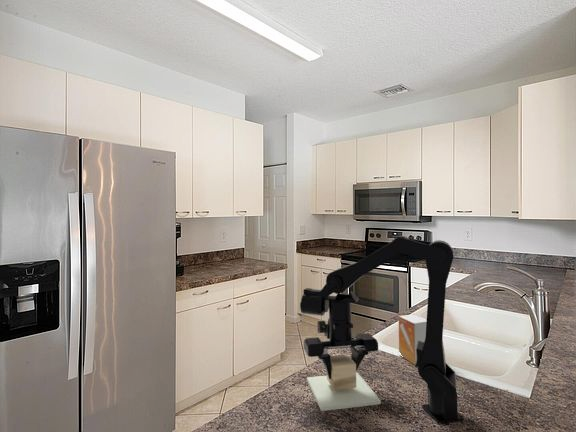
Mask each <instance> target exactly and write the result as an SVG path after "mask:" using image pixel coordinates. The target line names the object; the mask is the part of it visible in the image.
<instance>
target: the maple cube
mask: <svg viewBox="0 0 576 432" xmlns="http://www.w3.org/2000/svg"><path fill="white" fill-rule="evenodd" d="M330 357H331V379H329V378H328V375H327V374H326V376H327V380H328V381H329V383H330V385H331V386H332V388H333V390H339V389H348V388H356V372H357V371H356V363H355V362H354V361H353V360H352V359H351V356H350V355H349V354H338V355H330Z"/></svg>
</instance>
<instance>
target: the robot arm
mask: <svg viewBox="0 0 576 432" xmlns="http://www.w3.org/2000/svg"><path fill="white" fill-rule="evenodd" d="M401 254H403V255H408V256H410V257H413V258H415V259H420V260H424V261H425V262H426V263H425V264H426V272H427V276H428V294H427V305H426V306H427V307H426V309H427V310H426V320H427V322H426V337H425V341H424V342H421V341H418V344H417V349H416V353H417V359H416V363H415V365H414V368H417V372H418V376H419V377H420V378H421V379H422V380H423V381H424V382H425V383H426V385H427V404H422V407H421V408H422V409H423V410H425V411H426V412H427V414H428V415H429V416H430V417H431V418H433V420H434V421H436V423H438V424H443V423H444V424H445V423H451V422H452V423H453V422H457V421H458V422H459V421H464V420H465V416H463V415H462V414H461V413H460V412H459V411H458V410H459V409H458V392H457V390H458V389H457V377H456V376H457V375H456V372H455V370H454V369H452V367H450V366H449V364H448V363H447V362H446V353H445V347H444V341H443V335H444V334H443V333H444V322H445V321H444V320H445V318H444V317H445V306H446V304H445V303H446V292H447V291H446V290H447V281H448V278H449V275H450V270H451V268H452V264H453V262H454V261H453V260H454V251H453V248H452V246H451V245H450V244H449V243H448V242H446V241H445V240H440V239H438V240H434V241H425V240H422V239H417V238H411V237H408V236H405V235H399V236H397V237H395V238H394V239H393V240H392V241H391V242H389V243H387V244H386V245H384V246H382V247H380V248H378V249H377V250H375V251H372V253H370V254H368V255H367V256H365V257H363V258H362V259H359V261H356V262H353V263H351V264H348V265H344V266H342V267H340V268H337V269H335V270H332V271H331V272H329V273H328V274H327V275H326V279H325V285H324V286H323V288H321V289H314V288H310V287H309V288H308V287H306V288H304V289H303V291H302V292H303V294H302V296H301V299H300V302H299V307H300V312H301V313H302V314H303V315H314V316H324V315H326V314H325V313H329V314H328V317H329V318H328V320H327V323H326V321H325V320H319V321H317V324H316V325H317V326H316V327H317V332H318V334H324V337H325V338H326V339H327V341H326V340H325V341H324V340H323V341H321V339H320V338H319V336H318V337H308V338H307V337H306V338H305V339H304V341H303V349H304V351H305V353H306V355H307V356H308V357H309V358H310V357H311V358H314V357H317V358H318V359H320V360H321V361H322V364H323V367H324V369H325V371H326V376H327V375H328V378H329V379H331V357H330V356H331V355H330V354H329V350H333V349H342V348H344V349H345V348H350V351H351V352H350V353H351V356H350V358H351V359H352V360H353V361H354V362H355V363H356V372H357V371H358V369H359V367H360V365H361V363H362V362H363V360H364V358H365V356H368V355H369V353H370V352H377V351H379V342H378V340H377V339H376V338H375V337H374V336H373V335H371V334H370V333H369V332H368V333H357V334H356V335H355V338H352V336H353V335H352V329H353V328H354V324H353V323H352V304H356V303H357V302H358V300H360V297H358V296H357V295H356V294H355V293H354V291H350V292H349V293H344V292H346V291H347V290H348V289H350V288H351V287H352V286H353V285H354V284H355V283H356V282H357V281H359V280H360V279H361V278H363V276H365V275H366V274H368V273H369V272H371V271H373V270H375V269H376V268H378V267H381V266H382V265H384V264H386V263H388V262H389V261H391V260H392V259H394V258H396V257H398V256H399V255H401ZM333 294H336V295H333Z"/></svg>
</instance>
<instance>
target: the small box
mask: <svg viewBox="0 0 576 432" xmlns="http://www.w3.org/2000/svg"><path fill="white" fill-rule="evenodd" d="M426 322H427V318H424V317H421V316H419V315H416V314H405V315H398V353H399V352H400V353H401V355H402V356H403V357H404V359H405V360H406V361H408V362H410V363H411V364H412V365H414V366H415V363H416V359H417V353H416V349H417V344H418V341H421V342H424V341H425V337H426ZM402 356H401V357H402ZM403 357H402V358H403Z"/></svg>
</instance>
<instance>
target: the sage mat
mask: <svg viewBox="0 0 576 432" xmlns="http://www.w3.org/2000/svg"><path fill="white" fill-rule="evenodd" d="M306 382H307V384H308V386H309V388H310V390H311V392H312V394H313V397H314V399H315V401H316V403H317V406H318V407H319V409H320V412H325V411H326V412H327V411H334V410H343V409H351V408H360V407H365V406H366V407H368V406H375V405H381V404H382V401H381V399H380V398H379V397H378V396H377V394H376V393H375V391H373V390H372V388H371V387H370V386H369V384H368V383H367V382H366V380H364V378H363V377H362V376H361V375H360V374H359V372H357V371H356V388H348V389H339V390H333V388H332V386H331V385H330V383H329V381H328V380H327V375H318V376H309V377H306Z"/></svg>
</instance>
